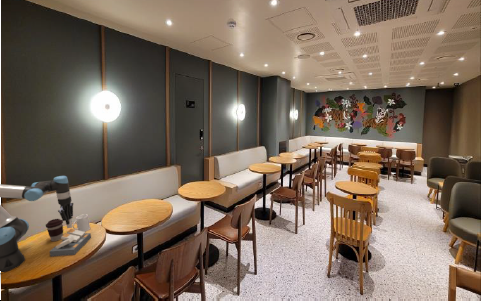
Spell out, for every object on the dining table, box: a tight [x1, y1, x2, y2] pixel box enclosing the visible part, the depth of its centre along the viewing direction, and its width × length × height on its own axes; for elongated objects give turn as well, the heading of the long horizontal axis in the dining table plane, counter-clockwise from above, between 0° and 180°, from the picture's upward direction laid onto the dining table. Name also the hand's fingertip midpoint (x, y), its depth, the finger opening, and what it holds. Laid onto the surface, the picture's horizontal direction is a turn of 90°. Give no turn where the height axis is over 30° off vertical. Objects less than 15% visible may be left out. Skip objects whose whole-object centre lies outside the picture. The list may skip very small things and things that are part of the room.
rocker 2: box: [60, 232, 80, 242], centre depth 155 cm, size 10×4×2 cm, turn 98°
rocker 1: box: [55, 237, 74, 249], centre depth 149 cm, size 10×4×2 cm, turn 96°
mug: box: [72, 213, 91, 233], centre depth 176 cm, size 12×8×12 cm
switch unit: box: [49, 232, 92, 257], centre depth 155 cm, size 15×20×5 cm
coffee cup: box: [45, 218, 64, 242], centre depth 164 cm, size 10×10×15 cm
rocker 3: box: [66, 228, 86, 238], centre depth 161 cm, size 10×4×2 cm, turn 98°
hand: (69, 227), depth 159 cm, fingers closed
